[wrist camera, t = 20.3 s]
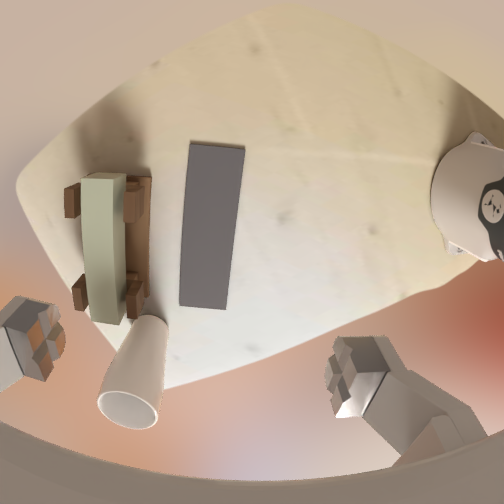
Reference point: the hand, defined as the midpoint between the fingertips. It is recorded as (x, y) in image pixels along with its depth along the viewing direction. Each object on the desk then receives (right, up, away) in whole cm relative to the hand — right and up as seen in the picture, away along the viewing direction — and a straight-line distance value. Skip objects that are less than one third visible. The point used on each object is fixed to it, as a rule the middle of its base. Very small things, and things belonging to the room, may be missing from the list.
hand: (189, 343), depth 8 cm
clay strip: (-14, +3, +24) cm, 28 cm away
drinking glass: (-12, -8, +32) cm, 35 cm away
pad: (-3, +5, +27) cm, 28 cm away
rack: (-14, +4, +27) cm, 31 cm away
